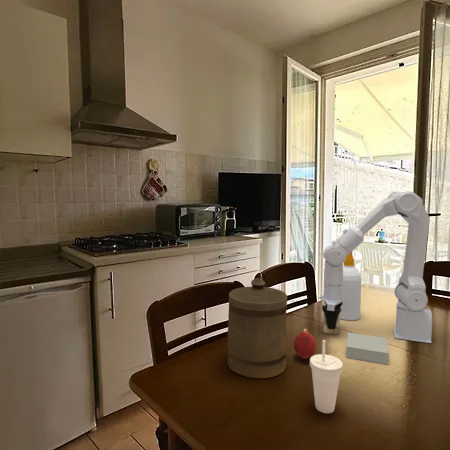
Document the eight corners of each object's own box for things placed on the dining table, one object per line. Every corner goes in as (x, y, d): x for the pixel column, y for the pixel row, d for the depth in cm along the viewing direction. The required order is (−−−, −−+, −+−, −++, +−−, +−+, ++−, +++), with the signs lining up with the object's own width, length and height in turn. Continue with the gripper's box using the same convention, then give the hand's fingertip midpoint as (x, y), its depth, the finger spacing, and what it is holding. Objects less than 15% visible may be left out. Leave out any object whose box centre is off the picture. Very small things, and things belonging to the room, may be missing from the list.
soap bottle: (362, 314, 121) (365, 249, 119) (357, 322, 113) (359, 252, 111) (338, 310, 126) (340, 247, 124) (331, 317, 118) (333, 250, 116)
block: (339, 329, 107) (340, 311, 107) (338, 334, 103) (339, 315, 103) (325, 327, 109) (325, 309, 109) (323, 332, 105) (324, 313, 105)
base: (385, 348, 94) (386, 337, 94) (388, 364, 85) (388, 353, 85) (347, 342, 98) (348, 332, 98) (346, 357, 89) (346, 346, 88)
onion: (316, 365, 84) (317, 334, 84) (293, 363, 86) (294, 332, 85) (315, 354, 90) (316, 326, 89) (293, 352, 91) (294, 324, 91)
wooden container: (290, 355, 90) (291, 274, 88) (280, 384, 76) (282, 289, 74) (237, 347, 95) (237, 270, 93) (219, 372, 81) (219, 283, 79)
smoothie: (304, 398, 71) (305, 334, 69) (333, 397, 71) (335, 333, 70) (315, 418, 64) (316, 348, 63) (347, 416, 65) (349, 346, 64)
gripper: (322, 277, 113) (321, 316, 114) (317, 288, 100) (316, 332, 101) (344, 279, 111) (343, 319, 112) (342, 290, 97) (340, 336, 98)
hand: (331, 325), depth 106 cm, fingers closed on block, 4 cm apart
